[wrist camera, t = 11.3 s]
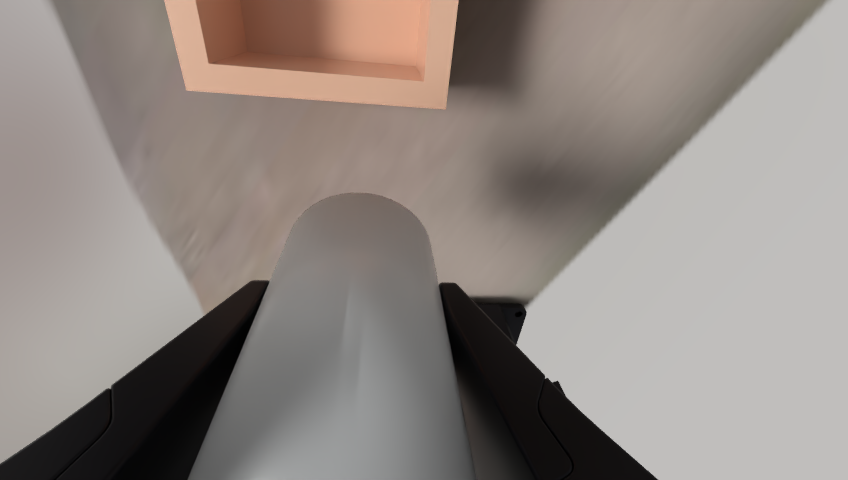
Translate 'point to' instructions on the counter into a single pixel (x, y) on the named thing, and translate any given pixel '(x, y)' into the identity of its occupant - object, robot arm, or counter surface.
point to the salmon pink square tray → (318, 49)
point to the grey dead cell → (345, 360)
